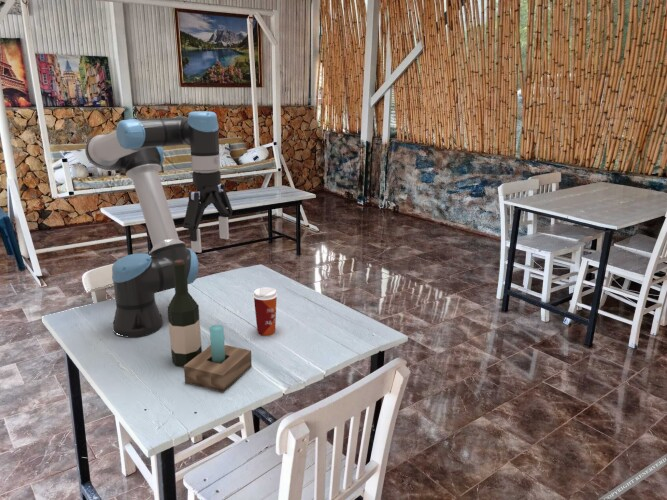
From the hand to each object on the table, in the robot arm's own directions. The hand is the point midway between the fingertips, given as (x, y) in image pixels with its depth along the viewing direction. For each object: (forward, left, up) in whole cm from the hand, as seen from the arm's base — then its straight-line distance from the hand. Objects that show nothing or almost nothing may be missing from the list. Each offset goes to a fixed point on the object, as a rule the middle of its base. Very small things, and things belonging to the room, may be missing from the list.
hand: (211, 244), depth 149 cm
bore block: (+10, -14, -32) cm, 36 cm away
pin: (+10, -14, -31) cm, 35 cm away
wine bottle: (-3, -11, -32) cm, 34 cm away
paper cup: (+10, +13, -32) cm, 36 cm away
